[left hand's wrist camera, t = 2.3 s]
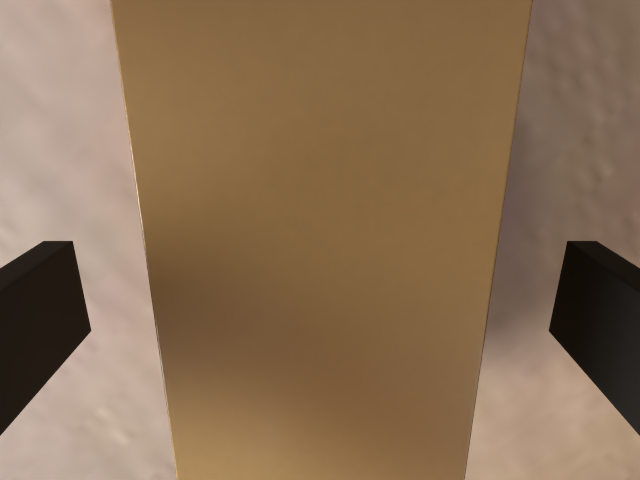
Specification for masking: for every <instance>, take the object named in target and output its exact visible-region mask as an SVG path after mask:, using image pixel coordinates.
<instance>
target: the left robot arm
mask: <svg viewBox="0 0 640 480" xmlns="http://www.w3.org/2000/svg"><path fill="white" fill-rule="evenodd" d="M90 332H91V327H90V322H89V318H88V313H87V308H86V303H85V298H84V294H83V289H82V284H81V279H80V274H79V270H78V265H77V260H76V255H75V250H74V246H73V241H43V242H41V243H40V244H38V245H37V246H35V247H34V248H32V249H30V250H29V251H27V252H26V253H24V254H22V255H21V256H19V257H18V258H16V259H14V260H13V261H11V262H10V263H8V264H7V265H5V266H3V267H2V268H0V435H1V434H2V433H3V432H4V431H5V430H6V428H7V427H8V426H9V425H10V424H11V423H12V422H13V420H14V419H15V418H16V417H17V416H18V415H19V414H20V412H21V411H22V410H23V409H24V408H25V407H26V405H27V404H28V403H29V402H30V401H31V400H32V399H33V397H34V396H35V395H36V394H37V393H38V392H39V390H40V389H41V388H42V387H43V386H44V385H45V384H46V382H47V381H48V380H49V379H50V378H51V377H52V375H53V374H54V373H55V372H56V371H57V370H58V369H59V367H60V366H61V365H62V364H63V363H64V362H65V360H66V359H67V358H68V357H69V356H70V355H71V354H72V352H73V351H74V350H75V349H76V348H77V347H78V346H79V344H80V343H81V342H82V341H83V340H84V339H85V337H86V336H87V335H88V334H89V333H90ZM549 332H550V333H551V334H552V335H553V336H554V337H555V339H556V340H557V341H558V342H559V343H560V344H561V346H562V347H563V348H564V349H565V350H566V351H567V352H568V354H569V355H570V356H571V357H572V358H573V359H574V360H575V362H576V363H577V364H578V365H579V366H580V367H581V369H582V370H583V371H584V372H585V373H586V374H587V375H588V377H589V378H590V379H591V380H592V381H593V382H594V384H595V385H596V386H597V387H598V388H599V389H600V390H601V392H602V393H603V394H604V395H605V396H606V397H607V399H608V400H609V401H610V402H611V403H612V404H613V405H614V407H615V408H616V409H617V410H618V411H619V412H620V414H621V415H622V416H623V417H624V418H625V419H626V420H627V422H628V423H629V424H630V425H631V426H632V427H633V428H634V430H635V431H636V432H637V433H638V434H639V435H640V268H638V267H637V266H635V265H633V264H632V263H630V262H629V261H627V260H626V259H624V258H622V257H621V256H619V255H618V254H616V253H614V252H613V251H611V250H610V249H608V248H606V247H605V246H603V245H602V244H600V243H599V242H597V241H567V246H566V250H565V255H564V260H563V265H562V270H561V274H560V279H559V284H558V289H557V294H556V298H555V303H554V308H553V313H552V318H551V322H550V327H549Z"/></svg>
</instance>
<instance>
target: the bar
mask: <svg viewBox="0 0 640 480" xmlns="http://www.w3.org/2000/svg"><path fill="white" fill-rule="evenodd" d="M532 1H533V0H110V6H111V13H112V20H113V27H114V34H115V41H116V48H117V55H118V62H119V70H120V77H121V84H122V91H123V98H124V105H125V112H126V119H127V127H128V134H129V141H130V148H131V155H132V162H133V169H134V176H135V183H136V191H137V198H138V205H139V212H140V219H141V226H142V233H143V240H144V247H145V255H146V262H147V269H148V276H149V283H150V290H151V297H152V304H153V312H154V319H155V326H156V333H157V340H158V347H159V354H160V361H161V368H162V376H163V383H164V390H165V397H166V404H167V411H168V418H169V425H170V432H171V440H172V447H173V454H174V461H175V468H176V475H177V480H464V479H465V472H466V465H467V458H468V451H469V444H470V437H471V430H472V423H473V416H474V409H475V402H476V395H477V388H478V381H479V374H480V367H481V360H482V353H483V345H484V338H485V331H486V324H487V317H488V310H489V303H490V296H491V289H492V282H493V275H494V268H495V261H496V254H497V247H498V240H499V233H500V226H501V219H502V212H503V205H504V198H505V191H506V184H507V177H508V170H509V162H510V155H511V148H512V141H513V134H514V127H515V120H516V113H517V106H518V99H519V92H520V85H521V78H522V71H523V64H524V57H525V50H526V43H527V36H528V29H529V22H530V15H531V8H532Z"/></svg>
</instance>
